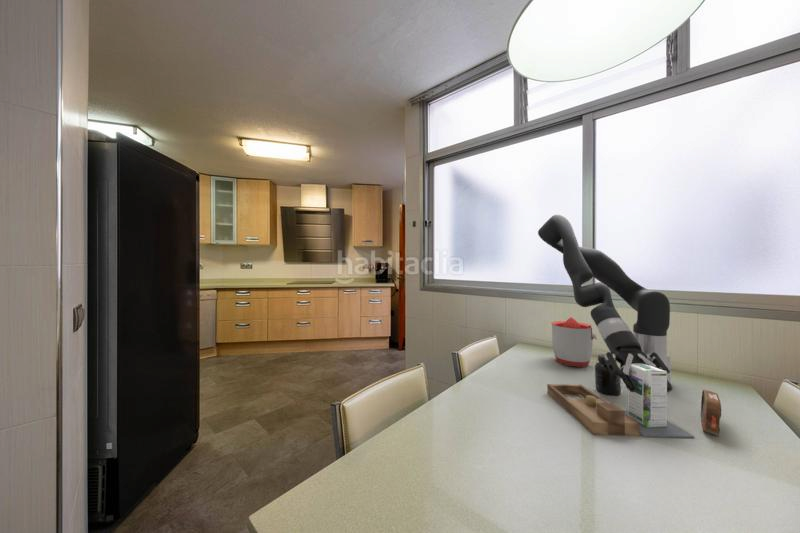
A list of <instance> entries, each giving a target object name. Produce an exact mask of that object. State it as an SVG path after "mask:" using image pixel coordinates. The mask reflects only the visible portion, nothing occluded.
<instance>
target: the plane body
mask: <svg viewBox="0 0 800 533" xmlns="http://www.w3.org/2000/svg"><path fill="white" fill-rule="evenodd" d="M546 388H547V389H546V391H547V392H546V393H547V394H548V395H549V397H551V398H552V399H553V400H554V401H555V402H556V403H558V404H559V406H561V407H562V408H563V409H564V410H566V412H567V413H569V414H570V415H571V417H574V419H575V420H577V422H579V423H580V424H581V425H582V426H583V427H584V428H586V429H587V430H588V432H590V433H591V434H593V436H641V435H640V430H639V423H638V422H637V421H635V420H634V419H632V418H631V417H629V416H628V415H626V414H625V411H626V410H624V409H623V408H621V407H620V406H618V405H617V404H615V403H613V402H608V401H607V400H605V399H604V398H602V397H600V396H599V395H597V394H596V393H594V392H593V391H591V390H590V389H589V388H587V387H586V386H584V385H583V384H570V383H569V384H568V383H567V384H564V383H563V384H561V383H560V384H557V383H556V384H554V383H552V384H551V383H549V384H548V383H547V385H546ZM567 396H581V397H582V398H577V397H576V398H575V397H574V398H571V397H570V398H568V397H567Z"/></svg>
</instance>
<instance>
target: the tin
mask: <svg viewBox="0 0 800 533" xmlns="http://www.w3.org/2000/svg"><path fill="white" fill-rule="evenodd" d="M701 393H702V394H701V401H700V402H701V403H700V405H701V406H700V422H701V427H702V428H701V429H702V432H705V433H709V434H712V435H715V436H719V435H720V433H721V429H720V424H721V423H720V422H721V417H722V403H721V400H720V397H719V395H718V393H716V392H714V391H710V390H706V389H702V392H701Z"/></svg>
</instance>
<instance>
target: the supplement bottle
mask: <svg viewBox="0 0 800 533" xmlns="http://www.w3.org/2000/svg"><path fill="white" fill-rule="evenodd" d="M605 354H606V353H605ZM605 354H603V353H602V354H601V353H600V354H598V355H597V361H598V362H596V363H595V365H594V382H595V384H594V386H595V391H596V392H598V393H599V394H601V395H605V396H610V397H620V396H621V395H622V383H621V382H622V378H620V377H619V376H612V375H611V373H610V371H609V369H608V367H607V365H606V363H605V360H604V358H603V356H604V355H605ZM615 361H616V360H615ZM616 362H617V361H616Z"/></svg>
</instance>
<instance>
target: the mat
mask: <svg viewBox="0 0 800 533" xmlns="http://www.w3.org/2000/svg"><path fill="white" fill-rule="evenodd" d="M624 411H625V414H626V415H628V410H624ZM632 419H633V418H632ZM635 421H636V420H635ZM638 423H639V422H638ZM639 430H640V436H642V438H674V439H675V438H679V439H683V438H684V439H695V437H696V436H695V435H693V434H691V433H689V432H688V431H686V430H684V429H683V428H681V427H679V426H677V425H676V424H674V423H672V422H671V421H669V420H667V426H666V427H645V426H644V425H642V424H641V423H639Z"/></svg>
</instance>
